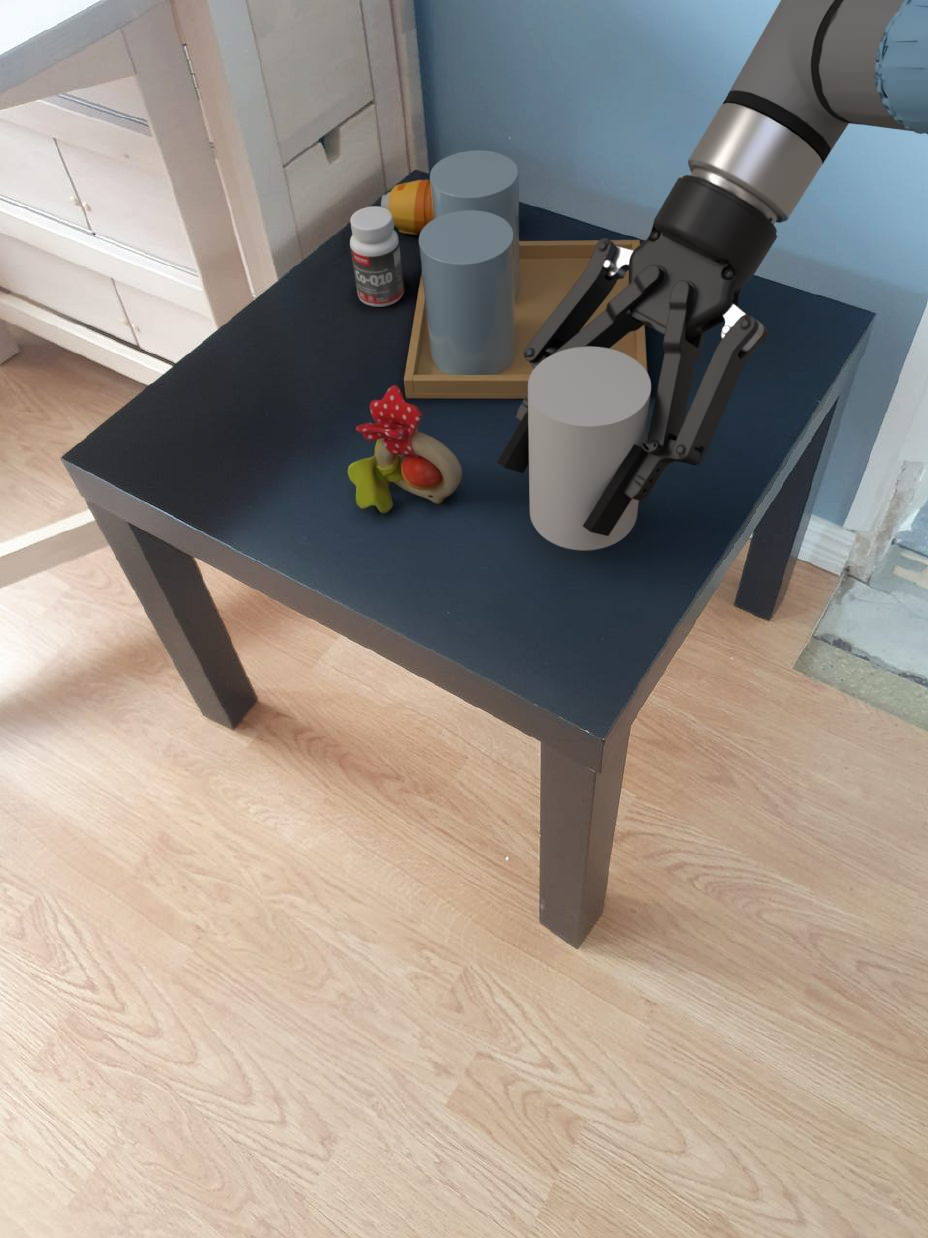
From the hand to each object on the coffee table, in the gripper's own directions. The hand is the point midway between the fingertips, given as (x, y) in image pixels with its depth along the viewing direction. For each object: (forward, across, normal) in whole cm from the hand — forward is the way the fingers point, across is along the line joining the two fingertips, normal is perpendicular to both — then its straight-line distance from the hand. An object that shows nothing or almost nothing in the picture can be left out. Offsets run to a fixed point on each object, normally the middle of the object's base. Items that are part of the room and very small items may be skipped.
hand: (551, 498), depth 72 cm
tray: (-9, +24, -19) cm, 32 cm away
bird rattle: (+8, +14, -3) cm, 16 cm away
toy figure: (-12, +42, -22) cm, 49 cm away
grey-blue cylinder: (-9, +31, -19) cm, 37 cm away
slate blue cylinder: (-4, +24, -14) cm, 28 cm away
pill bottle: (-4, +38, -14) cm, 40 cm away
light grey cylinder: (0, 0, -5) cm, 5 cm away
